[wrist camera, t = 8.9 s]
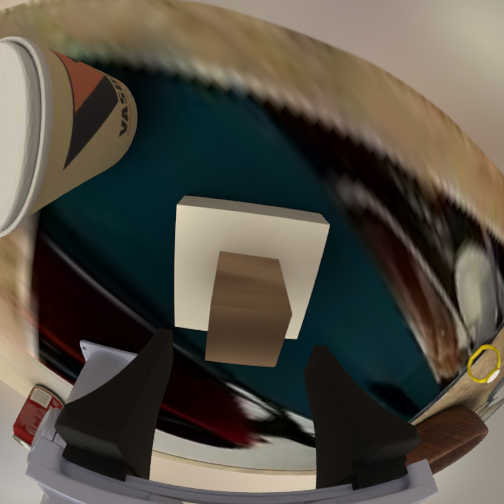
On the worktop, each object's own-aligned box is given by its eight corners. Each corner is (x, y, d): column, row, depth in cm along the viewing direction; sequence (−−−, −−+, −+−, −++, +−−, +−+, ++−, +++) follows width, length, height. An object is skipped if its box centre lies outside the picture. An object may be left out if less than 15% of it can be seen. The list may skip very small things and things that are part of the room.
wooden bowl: (432, 444, 47) (442, 471, 38) (358, 464, 45) (366, 499, 36) (488, 387, 37) (506, 418, 27) (418, 409, 35) (437, 454, 25)
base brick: (291, 316, 24) (296, 338, 22) (181, 304, 24) (175, 326, 21) (318, 211, 20) (329, 225, 18) (186, 193, 19) (176, 204, 17)
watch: (485, 336, 28) (506, 358, 23) (488, 341, 29) (508, 363, 23) (460, 364, 30) (479, 388, 24) (464, 369, 30) (482, 392, 25)
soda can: (33, 377, 30) (5, 429, 19) (66, 398, 31) (42, 453, 21) (36, 393, 32) (13, 440, 21) (66, 412, 34) (46, 461, 23)
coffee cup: (171, 138, 17) (70, 157, 6) (81, 204, 19) (-22, 275, 8) (118, 44, 14) (11, -4, 3) (37, 118, 15) (-72, 138, 4)
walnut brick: (267, 306, 20) (274, 366, 15) (213, 299, 20) (205, 360, 14) (278, 259, 19) (292, 314, 13) (219, 250, 18) (210, 304, 13)
